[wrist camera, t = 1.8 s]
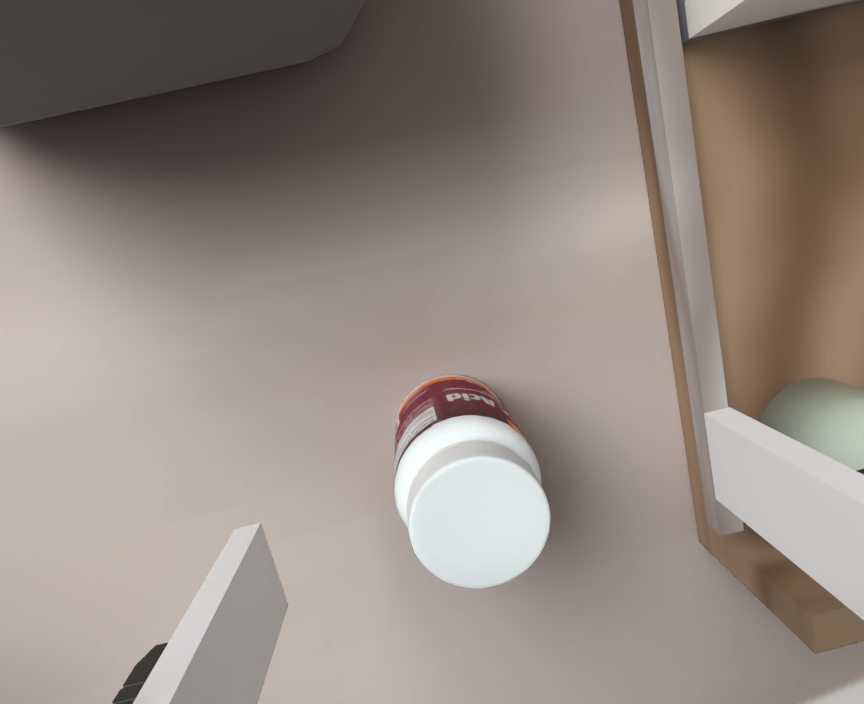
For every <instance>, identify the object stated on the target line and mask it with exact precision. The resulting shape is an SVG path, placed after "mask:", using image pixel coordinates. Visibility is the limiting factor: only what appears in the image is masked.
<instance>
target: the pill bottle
mask: <svg viewBox="0 0 864 704" xmlns="http://www.w3.org/2000/svg"><path fill="white" fill-rule="evenodd" d="M394 494H395V502H396V506H397V509H398V512H399V514H400V517H401V519H402V520H403V522H404V523H405V525H406V526H407V528H408V530H409V536H410V541H411V544H412V547H413V549H414V552H415V553H416V555H417V557H418V558H419V560H420V561H421V563H422V564H423V565H424V566H425V567H426V568H427V569H428V570H429V571H430V572H431V573H432V574H434V575H435V576H436V577H438V578H439V579H441V580H443V581H445V582H447V583H450V584H452V585H455V586H459V587H464V588H488V587H493V586H497V585H501V584H503V583H506V582H508V581H510V580H512V579H514V578H516V577H517V576H519V575H520V574H521V573H523V572H524V571H525V570H527V569H528V568H529V567H530V566H531V565H532V564H533V563H534V561H535V560H536V559H537V558H538V556H539V555H540V554H541V552H542V550H543V548H544V546H545V544H546V541H547V538H548V535H549V530H550V521H551V516H550V508H549V503H548V500H547V497H546V494H545V492H544V490H543V488H542V486H541V473H540V468H539V464H538V461H537V458H536V456H535V454H534V452H533V450H532V448H531V447H530V445H529V443H528V442H527V440H526V439H525V438H524V436H523V435H522V433H521V431H520V430H519V429H518V427H517V426H516V424H515V423H514V421H513V419H512V418H511V417H510V415H509V414H508V412H507V411H506V410H505V408H504V407H503V405H502V404H501V403H500V401H499V400H498V398H497V397H496V395H495V394H494V393H493V392H492V391H491V390H490V389H489V388H488V387H487V386H485V385H484V384H482V383H481V382H479V381H477V380H475V379H472V378H470V377H466V376H462V375H443V376H438V377H434V378H432V379H429V380H427V381H425V382H423V383H422V384H420V385H419V386H417V387H416V388H415V389H414V390H413V391H412V392H411V393H410V394H409V395H408V396H407V397H406V398H405V400H404V401H403V403H402V405H401V406H400V409H399V411H398V414H397V418H396V423H395V476H394Z"/></svg>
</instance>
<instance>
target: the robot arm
mask: <svg viewBox="0 0 864 704" xmlns="http://www.w3.org/2000/svg"><path fill="white" fill-rule="evenodd" d="M704 418H705V425H706V432H707V439H708V447H709V454H710V461H711V468H712V476H713V483H714V490H715V497H716V500H718V501H719V502H720V503H721V504H722V505H724V506H725V507H726V508H727V509H729V510H730V511H731V512H732V513H733V514H735V515H736V516H737V517H738V518H740V519H741V520H742V521H743V522H744V523H746V524H747V525H748V526H749V527H750V528H752V529H753V530H754V531H755V532H757V533H758V534H759V535H760V536H761V537H763V538H764V539H765V540H766V541H768V542H769V543H770V544H771V545H772V546H774V547H775V548H776V549H777V550H779V551H780V552H781V553H782V554H783V555H785V556H786V557H787V558H788V559H789V560H791V561H792V562H793V563H794V564H796V565H797V566H798V567H799V568H800V569H802V570H803V571H804V572H805V573H807V574H808V575H809V576H810V577H811V578H813V579H814V580H815V581H816V582H817V583H819V584H820V585H821V586H822V587H824V588H825V589H826V590H827V591H828V592H830V593H831V594H832V595H833V596H835V597H836V598H837V599H838V600H839V601H841V602H842V603H843V604H844V605H845V606H847V607H848V608H849V609H850V610H852V611H853V612H854V613H855V614H856V615H858V616H859V617H860V618H861V619H863V620H864V469H860V470H856V471H855V470H853V469H851V468H849V467H847V466H846V465H844V464H842V463H840V462H838V461H836V460H834V459H832V458H830V457H828V456H826V455H824V454H822V453H820V452H818V451H816V450H814V449H812V448H810V447H808V446H806V445H804V444H802V443H800V442H798V441H796V440H794V439H792V438H790V437H788V436H786V435H784V434H782V433H780V432H778V431H776V430H774V429H772V428H770V427H768V426H766V425H764V424H762V423H760V422H758V421H756V420H754V419H752V418H750V417H748V416H746V415H744V414H743V413H741V412H739V411H737V410H735V409H733V408H731V407H728V408H724V409H720V410H716V411H712V412H708V413H704ZM287 607H288V602H287V599H286V596H285V593H284V590H283V587H282V585H281V582H280V579H279V576H278V573H277V570H276V567H275V564H274V561H273V558H272V555H271V552H270V549H269V546H268V543H267V540H266V537H265V534H264V531H263V528H262V525H261V523H258V524H253V525H249V526H245V527H241V528H237V529H234V531H233V533H232V535H231V536H230V538H229V540H228V541H227V543H226V545H225V547H224V548H223V550H222V552H221V553H220V555H219V557H218V559H217V560H216V562H215V564H214V565H213V567H212V569H211V570H210V572H209V574H208V576H207V577H206V579H205V581H204V582H203V584H202V586H201V588H200V589H199V591H198V593H197V594H196V596H195V598H194V600H193V601H192V603H191V605H190V606H189V608H188V610H187V612H186V613H185V615H184V617H183V618H182V620H181V622H180V623H179V625H178V627H177V629H176V630H175V632H174V634H173V635H172V637H171V639H170V641H169V642H168V643H164V644H160V645H156V646H155V647H154V648H153V649H152V650H151V651H150V652H149V653H148V654H147V655H146V656H145V657H144V658H143V659H142V660H141V661H140V662H138V663H137V664H136V666H135V667H134V669H133V670H132V672H131V674H130V675H129V677H128V678H127V680H126V682H125V683H124V685H123V689H120V691H119V693H118V694H117V696H116V697H115V699H114V701H113V704H257V702H258V699H259V696H260V693H261V690H262V687H263V683H264V680H265V677H266V674H267V671H268V668H269V664H270V661H271V658H272V655H273V652H274V649H275V645H276V642H277V639H278V636H279V633H280V629H281V626H282V623H283V620H284V617H285V614H286V610H287Z"/></svg>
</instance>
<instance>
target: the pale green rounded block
mask: <svg viewBox="0 0 864 704" xmlns="http://www.w3.org/2000/svg"><path fill="white" fill-rule="evenodd" d="M758 422H760V423H762V424H764V425H766V426H768V427H770V428H772V429H774V430H776V431H778V432H780V433H782V434H784V435H786V436H788V437H790V438H792V439H794V440H796V441H798V442H800V443H802V444H804V445H806V446H808V447H810V448H812V449H814V450H816V451H818V452H820V453H822V454H824V455H826V456H828V457H830V458H832V459H834V460H836V461H838V462H840V463H842V464H844V465H846V466H847V467H849V468H851V469H853V470H855V471H856V470H860V469H864V389H863V388H860V387H857V386H854V385H850V384H847V383H844V382H840V381H837V380H834V379H829V378H822V377H817V378H808V379H804V380H801V381H797V382H795V383H793V384H791V385H789V386H787V387H786V388H784V389H783V390H781V391H780V392H779V393H778V394H777V395H775V396H774V397H773V398H772V399H771V401H770V402H769V403H768V404H767V406H766V407H765V409H764V410H763V412H762V414H761V416H760V418H759V420H758Z"/></svg>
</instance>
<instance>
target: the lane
mask: <svg viewBox="0 0 864 704" xmlns="http://www.w3.org/2000/svg"><path fill="white" fill-rule="evenodd" d="M619 1H620V8H621V15H622V22H623V28H624V35H625V42H626V49H627V55H628V62H629V69H630V76H631V82H632V89H633V96H634V103H635V110H636V116H637V123H638V130H639V137H640V143H641V150H642V157H643V164H644V170H645V177H646V184H647V191H648V197H649V204H650V211H651V218H652V224H653V231H654V238H655V245H656V251H657V258H658V265H659V272H660V279H661V285H662V292H663V299H664V306H665V312H666V319H667V326H668V333H669V339H670V346H671V353H672V360H673V366H674V373H675V380H676V387H677V393H678V400H679V407H680V414H681V421H682V427H683V434H684V441H685V448H686V454H687V461H688V468H689V475H690V481H691V488H692V495H693V502H694V508H695V515H696V522H697V529H698V535H699V542H700V543H701V544H702V545H703V546H704V547H705V548H706V549H708V550H709V551H710V552H711V553H712V554H713V555H714V556H715V557H716V558H717V559H718V560H719V561H720V562H721V563H722V564H723V565H724V566H725V567H726V568H727V569H728V570H729V571H730V572H731V573H732V574H733V575H734V576H735V577H736V578H738V579H739V580H740V581H741V582H742V583H743V584H744V585H745V586H746V587H747V588H748V589H749V590H750V591H751V592H752V593H753V594H754V595H755V596H756V597H757V598H758V599H759V600H760V601H761V602H762V603H763V604H764V605H765V606H767V607H768V608H769V609H770V610H771V611H772V612H773V613H774V614H775V615H776V616H777V617H778V618H779V619H780V620H781V621H782V622H783V623H784V624H785V625H786V626H787V627H788V628H789V629H790V630H791V631H792V632H793V633H794V634H796V635H797V636H798V637H799V638H800V639H801V640H802V641H803V642H804V643H805V644H806V645H807V646H808V647H809V648H810V649H811V650H812V651H813V652H814V653H815V654H816V653H820V652H824V651H827V650H831V649H835V648H839V647H842V646H846V645H850V644H854V643H857V642H861V641H864V620H863V619H861V618H860V617H859V616H858V615H856V614H855V613H854V612H853V611H852V610H850V609H849V608H848V607H847V606H845V605H844V604H843V603H842V602H841V601H839V600H838V599H837V598H836V597H835V596H833V595H832V594H831V593H830V592H828V591H827V590H826V589H825V588H824V587H822V586H821V585H820V584H819V583H817V582H816V581H815V580H814V579H813V578H811V577H810V576H809V575H808V574H807V573H805V572H804V571H803V570H802V569H800V568H799V567H798V566H797V565H796V564H794V563H793V562H792V561H791V560H789V559H788V558H787V557H786V556H785V555H783V554H782V553H781V552H780V551H779V550H777V549H776V548H775V547H774V546H772V545H771V544H770V543H769V542H768V541H766V540H765V539H764V538H763V537H761V536H760V535H759V534H758V533H757V532H755V531H754V530H753V529H752V528H750V527H749V526H748V525H747V524H746V523H744V522H743V521H742V520H741V519H740V518H738V517H737V516H736V515H735V514H733V513H732V512H731V511H730V510H729V509H727V508H726V507H725V506H724V505H722V504H721V503H720V502H719V501H718V500H716V497H715V490H714V483H713V476H712V468H711V461H710V454H709V447H708V439H707V432H706V425H705V418H704V413H708V412H712V411H716V410H720V409H724V408H728V407H731V408H733V409H735V410H737V411H739V412H741V413H743V414H744V415H746V416H748V417H750V418H752V419H754V420H756V421H758V420H759V418H760V416H761V414H762V412H763V410H764V409H765V407H766V406H767V404H768V403H769V402H770V401H771V399H772V398H773V397H774V396H775V395H777V394H778V393H779V392H780V391H781V390H783V389H784V388H786V387H787V386H789V385H791V384H793V383H795V382H797V381H801V380H804V379H808V378H817V377H822V378H829V379H834V380H837V381H840V382H844V383H847V384H850V385H854V386H857V387H860V388H863V389H864V1H859V2H855V3H851V4H847V5H843V6H839V7H834V8H830V9H826V10H822V11H818V12H813V13H809V14H805V15H801V16H797V17H792V18H788V19H784V20H780V21H776V22H772V23H767V24H763V25H759V26H755V27H751V28H746V29H742V30H738V31H734V32H730V33H725V34H721V35H717V36H713V37H709V38H705V39H700V40H696V41H692V42H688V43H684V44H682V42H681V34H680V26H679V18H678V11H677V3H676V0H619Z"/></svg>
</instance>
